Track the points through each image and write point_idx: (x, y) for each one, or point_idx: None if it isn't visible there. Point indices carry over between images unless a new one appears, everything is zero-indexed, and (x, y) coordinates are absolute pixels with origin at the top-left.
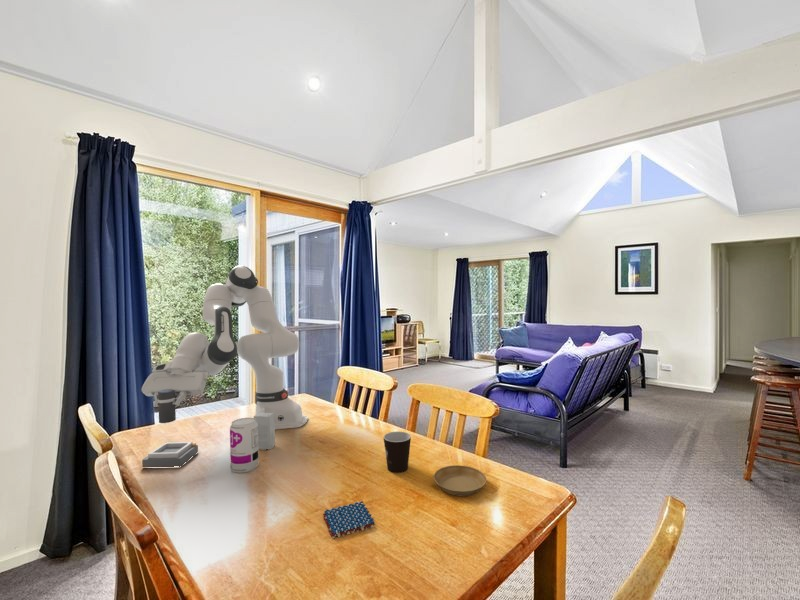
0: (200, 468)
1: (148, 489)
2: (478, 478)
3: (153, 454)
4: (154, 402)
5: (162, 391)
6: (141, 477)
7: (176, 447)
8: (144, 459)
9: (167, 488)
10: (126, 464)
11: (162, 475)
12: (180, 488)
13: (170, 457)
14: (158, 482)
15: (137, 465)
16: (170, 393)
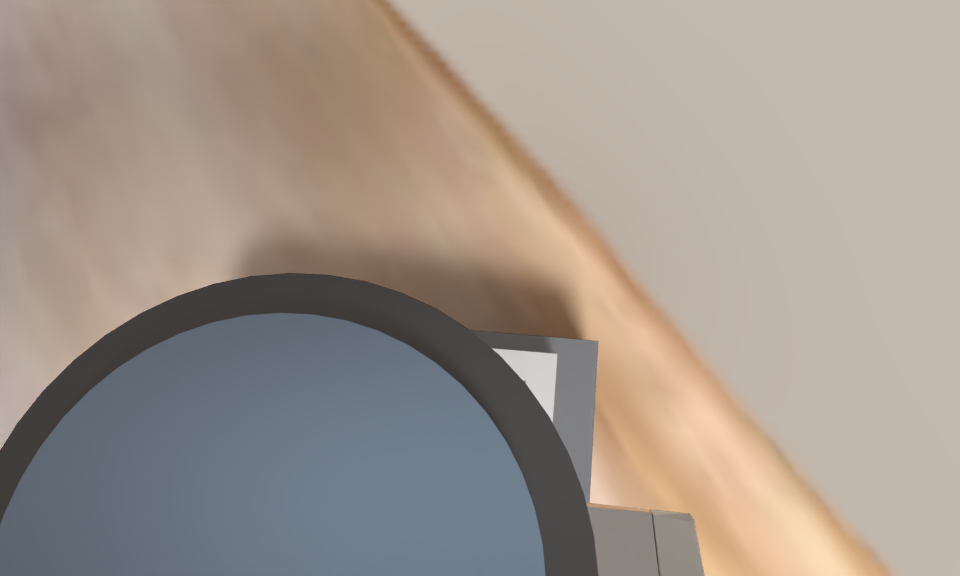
0: (90, 296)
1: (358, 26)
2: None
3: (502, 352)
4: (679, 538)
5: (379, 453)
6: (508, 207)
7: None
8: (576, 340)
9: (234, 23)
10: (806, 488)
11: (356, 216)
12: (146, 12)
13: None
14: (335, 111)
15: (682, 447)
16: (69, 395)
